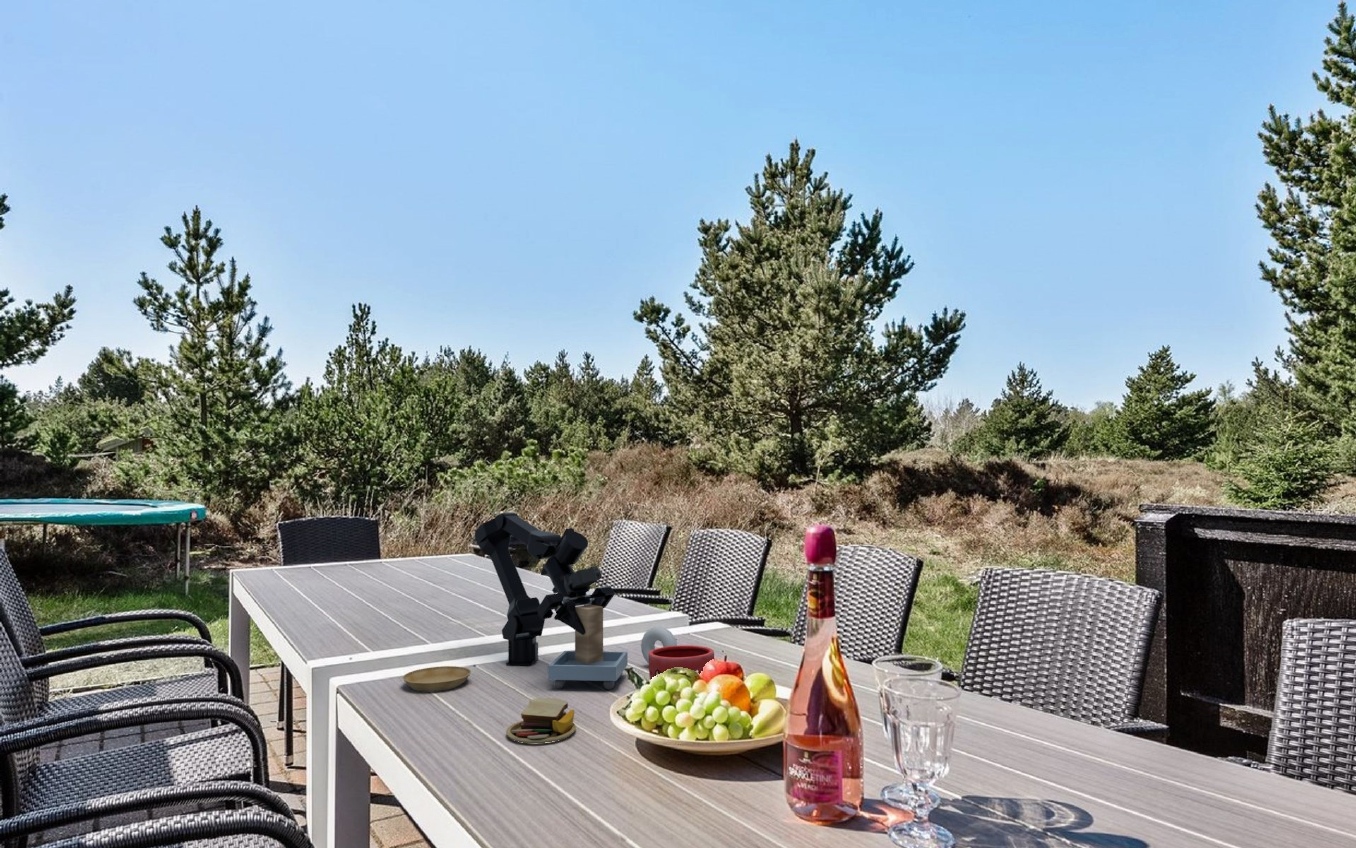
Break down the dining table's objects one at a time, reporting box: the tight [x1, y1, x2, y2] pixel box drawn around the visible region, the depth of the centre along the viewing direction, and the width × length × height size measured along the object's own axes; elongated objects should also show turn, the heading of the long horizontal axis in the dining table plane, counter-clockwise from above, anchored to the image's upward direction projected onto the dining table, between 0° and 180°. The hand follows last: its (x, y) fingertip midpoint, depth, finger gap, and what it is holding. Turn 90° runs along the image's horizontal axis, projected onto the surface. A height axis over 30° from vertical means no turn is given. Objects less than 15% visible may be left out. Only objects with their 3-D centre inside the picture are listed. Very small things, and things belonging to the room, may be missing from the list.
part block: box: [574, 605, 604, 664], centre depth 174 cm, size 4×4×12 cm
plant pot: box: [648, 644, 715, 680], centre depth 153 cm, size 13×13×12 cm
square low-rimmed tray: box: [547, 650, 629, 691], centre depth 174 cm, size 15×14×5 cm
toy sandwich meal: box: [505, 697, 577, 743], centre depth 141 cm, size 12×14×5 cm
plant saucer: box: [402, 665, 472, 693], centre depth 174 cm, size 15×15×3 cm
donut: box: [640, 625, 678, 665], centre depth 186 cm, size 10×3×10 cm, turn 57°
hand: (592, 632), depth 173 cm, fingers closed on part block, 4 cm apart
